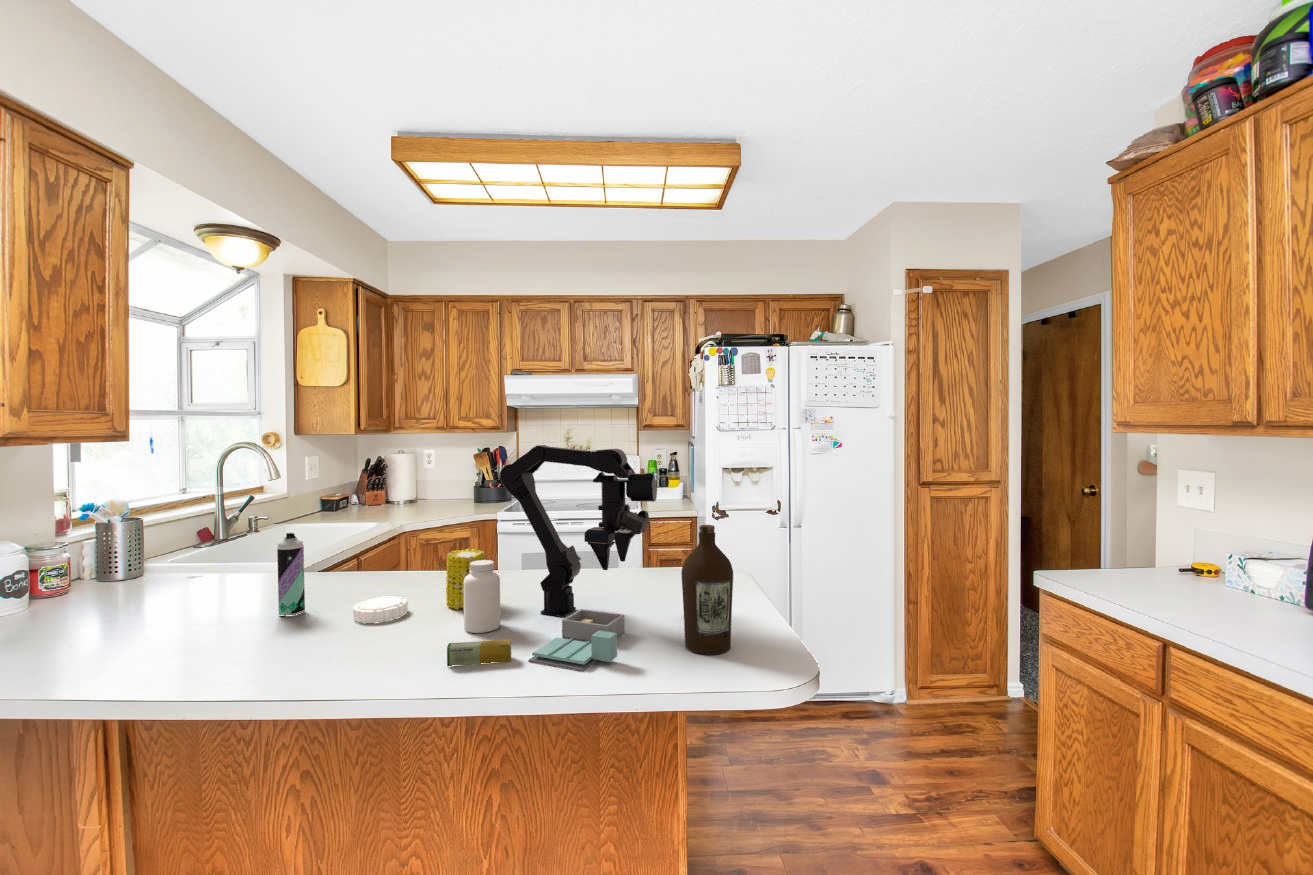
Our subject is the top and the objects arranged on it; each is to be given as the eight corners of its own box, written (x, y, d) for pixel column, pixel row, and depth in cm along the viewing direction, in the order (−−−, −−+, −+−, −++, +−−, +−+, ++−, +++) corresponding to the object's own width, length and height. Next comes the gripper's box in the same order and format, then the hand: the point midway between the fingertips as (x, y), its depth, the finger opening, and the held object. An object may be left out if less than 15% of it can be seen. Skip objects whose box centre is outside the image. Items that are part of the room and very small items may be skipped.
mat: (528, 661, 112) (528, 659, 112) (556, 643, 122) (556, 641, 122) (582, 671, 108) (582, 669, 108) (607, 651, 117) (607, 649, 117)
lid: (532, 658, 113) (531, 632, 113) (556, 643, 121) (556, 618, 121) (603, 670, 107) (602, 643, 107) (623, 653, 115) (623, 628, 115)
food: (475, 603, 155) (487, 615, 147) (431, 600, 149) (440, 613, 140) (488, 547, 156) (500, 555, 148) (444, 542, 150) (455, 551, 141)
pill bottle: (507, 624, 134) (507, 560, 133) (483, 636, 126) (482, 568, 126) (481, 620, 137) (480, 557, 137) (456, 631, 130) (455, 564, 129)
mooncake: (360, 628, 132) (360, 613, 132) (347, 615, 142) (347, 601, 142) (414, 617, 140) (414, 602, 140) (399, 605, 149) (398, 591, 149)
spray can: (273, 615, 141) (271, 534, 141) (294, 608, 147) (293, 530, 146) (288, 618, 139) (287, 535, 139) (310, 611, 144) (308, 531, 144)
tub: (562, 638, 125) (562, 619, 125) (581, 626, 132) (580, 608, 132) (607, 645, 120) (607, 626, 120) (624, 632, 128) (624, 614, 128)
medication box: (446, 668, 110) (445, 647, 110) (448, 662, 113) (448, 642, 113) (511, 663, 112) (511, 643, 112) (512, 657, 115) (511, 637, 115)
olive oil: (676, 639, 123) (675, 522, 123) (723, 635, 126) (722, 520, 125) (690, 659, 113) (689, 531, 112) (741, 653, 115) (740, 529, 115)
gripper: (627, 507, 128) (627, 578, 128) (659, 497, 145) (659, 559, 145) (582, 505, 132) (583, 573, 132) (619, 496, 149) (619, 556, 149)
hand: (614, 565), depth 140 cm, fingers open, 9 cm apart
